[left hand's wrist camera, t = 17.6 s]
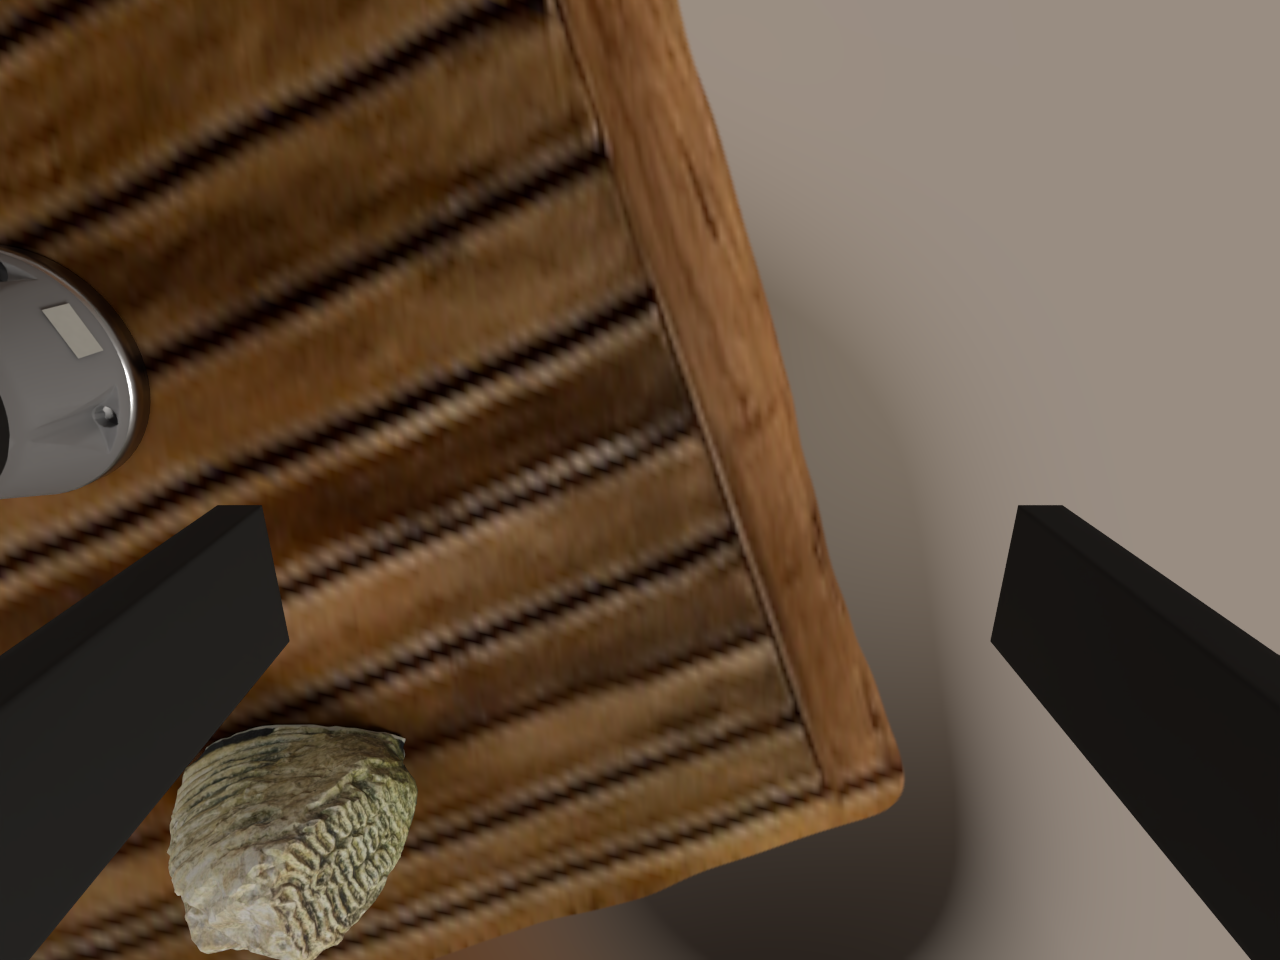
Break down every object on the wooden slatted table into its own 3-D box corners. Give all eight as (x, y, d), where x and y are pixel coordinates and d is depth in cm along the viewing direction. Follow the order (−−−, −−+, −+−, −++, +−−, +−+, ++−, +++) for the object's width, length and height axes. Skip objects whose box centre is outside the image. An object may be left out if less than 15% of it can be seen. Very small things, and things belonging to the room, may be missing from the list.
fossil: (449, 777, 56) (386, 967, 42) (236, 825, 58) (107, 1023, 44) (406, 687, 53) (322, 858, 39) (183, 741, 55) (25, 924, 41)
